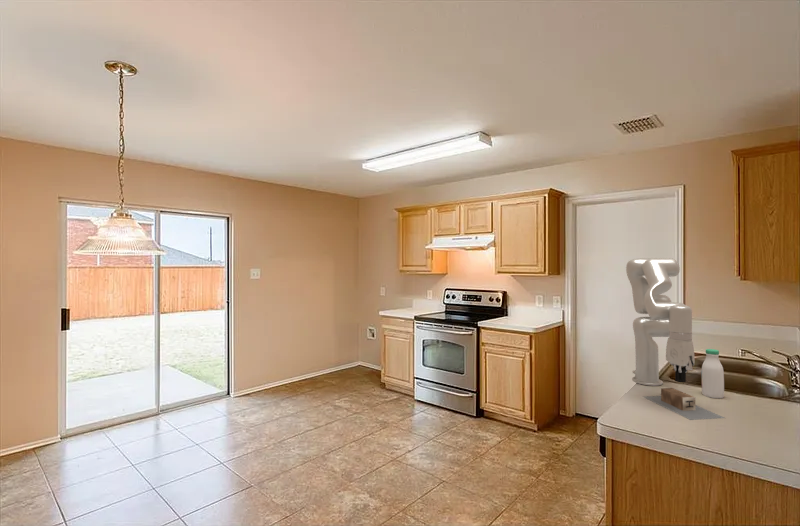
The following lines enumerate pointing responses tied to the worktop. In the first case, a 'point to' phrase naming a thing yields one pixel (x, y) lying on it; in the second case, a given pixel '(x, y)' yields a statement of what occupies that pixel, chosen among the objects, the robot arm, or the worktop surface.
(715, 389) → the milk bottle
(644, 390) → the worktop surface
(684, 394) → the walnut block
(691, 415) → the mat
